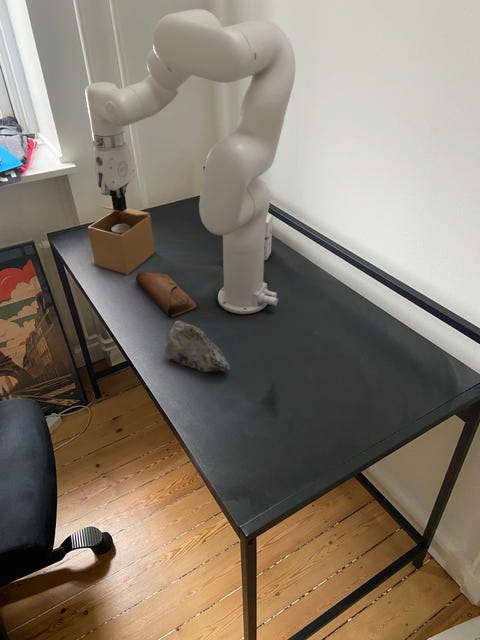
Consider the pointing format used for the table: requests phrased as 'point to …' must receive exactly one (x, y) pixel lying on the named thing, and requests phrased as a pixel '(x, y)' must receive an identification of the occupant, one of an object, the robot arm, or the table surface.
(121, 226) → the tea tin
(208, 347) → the mineral rock
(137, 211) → the flap
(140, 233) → the carton
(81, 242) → the table surface
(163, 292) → the sunglasses case
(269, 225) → the ink box
